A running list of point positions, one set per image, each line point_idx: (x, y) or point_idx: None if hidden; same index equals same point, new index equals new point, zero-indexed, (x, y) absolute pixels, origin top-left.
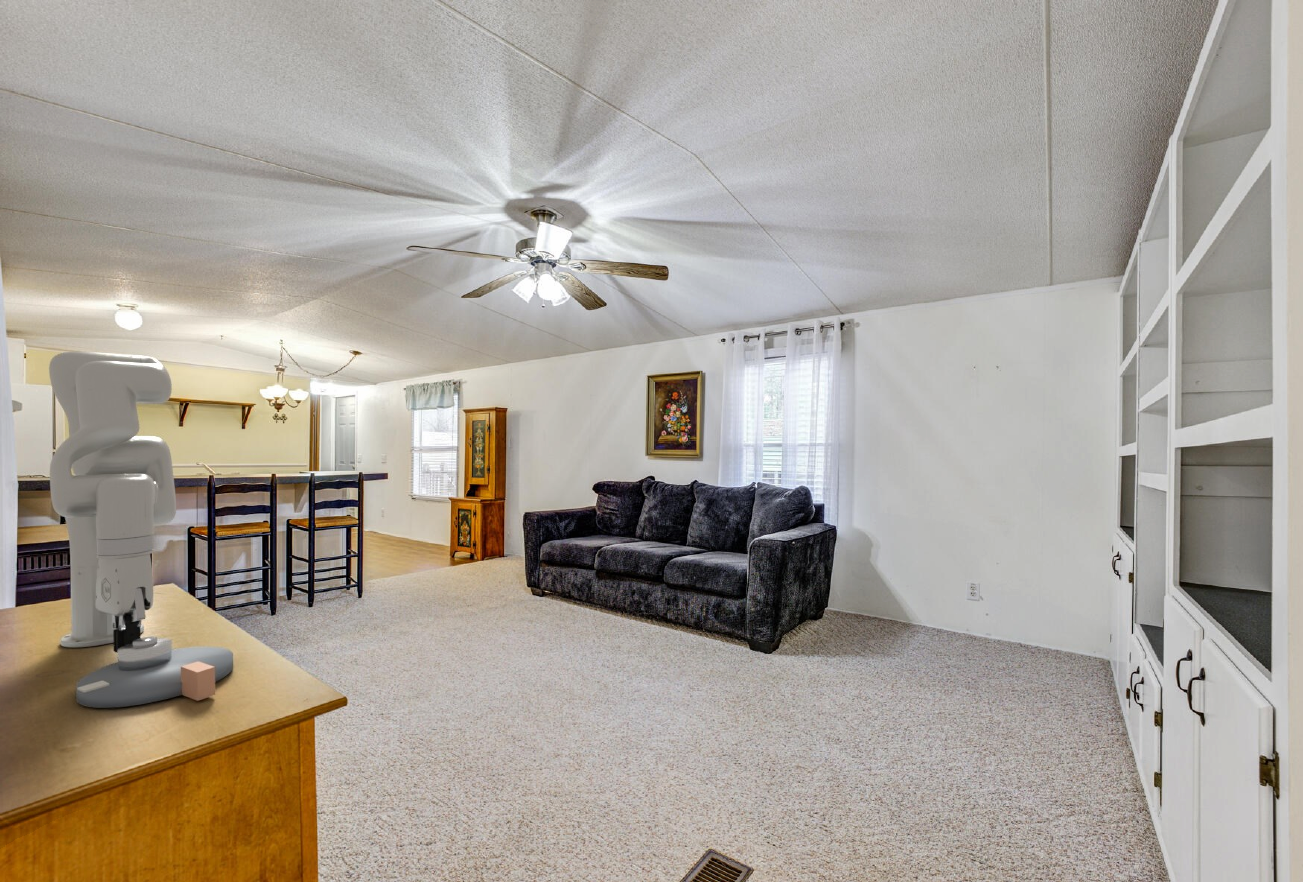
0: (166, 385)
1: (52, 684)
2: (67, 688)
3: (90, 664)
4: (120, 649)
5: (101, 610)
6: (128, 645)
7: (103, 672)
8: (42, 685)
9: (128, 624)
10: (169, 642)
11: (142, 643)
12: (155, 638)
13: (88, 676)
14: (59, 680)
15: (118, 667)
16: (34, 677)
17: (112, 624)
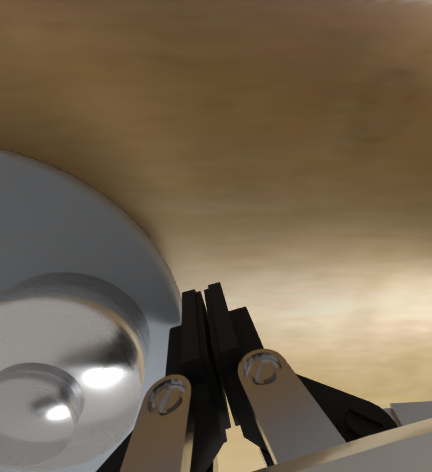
0: None
1: (255, 102)
2: (170, 135)
3: (372, 205)
4: (39, 322)
5: (376, 458)
6: (90, 350)
7: (47, 231)
8: (270, 75)
9: (108, 458)
10: (12, 467)
11: None
12: (6, 461)
13: (27, 185)
14: (281, 122)
15: (45, 276)
16: (385, 63)
17: (286, 364)
